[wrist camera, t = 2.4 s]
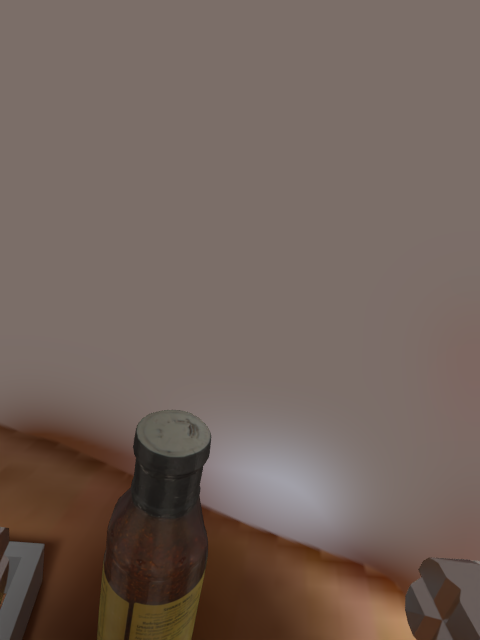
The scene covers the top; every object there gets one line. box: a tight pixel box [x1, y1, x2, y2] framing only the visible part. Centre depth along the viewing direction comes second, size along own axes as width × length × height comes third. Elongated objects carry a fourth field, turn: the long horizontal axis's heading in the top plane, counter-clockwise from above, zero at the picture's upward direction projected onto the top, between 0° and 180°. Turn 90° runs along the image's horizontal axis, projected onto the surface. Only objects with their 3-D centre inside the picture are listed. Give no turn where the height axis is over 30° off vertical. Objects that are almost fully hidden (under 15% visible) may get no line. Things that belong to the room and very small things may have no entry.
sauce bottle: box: [97, 410, 211, 640], centre depth 27 cm, size 7×6×20 cm
